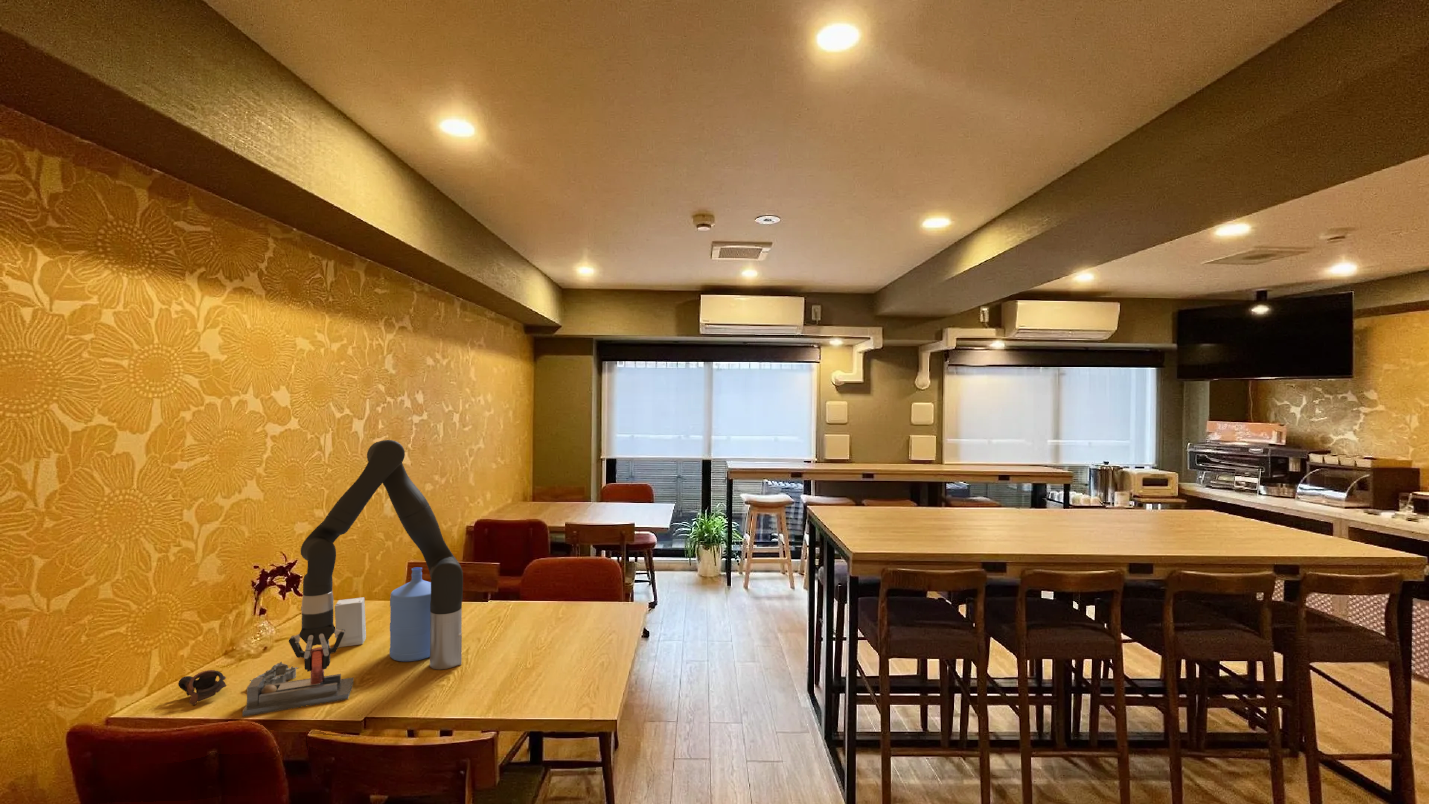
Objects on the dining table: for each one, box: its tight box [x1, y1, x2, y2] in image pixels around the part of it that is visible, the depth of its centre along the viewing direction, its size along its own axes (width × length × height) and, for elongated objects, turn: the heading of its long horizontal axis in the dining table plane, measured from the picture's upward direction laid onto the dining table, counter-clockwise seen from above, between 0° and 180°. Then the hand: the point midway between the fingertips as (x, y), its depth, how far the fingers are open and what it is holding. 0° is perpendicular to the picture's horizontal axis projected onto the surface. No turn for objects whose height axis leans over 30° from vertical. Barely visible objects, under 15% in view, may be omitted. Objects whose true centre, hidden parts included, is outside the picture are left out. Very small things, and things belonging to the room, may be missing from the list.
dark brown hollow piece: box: [177, 669, 227, 706], centre depth 169 cm, size 12×10×8 cm
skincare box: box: [334, 597, 367, 648], centre depth 208 cm, size 8×6×15 cm
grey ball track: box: [242, 673, 355, 717], centre depth 169 cm, size 24×11×6 cm, turn 114°
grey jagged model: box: [249, 661, 299, 687], centre depth 179 cm, size 11×8×4 cm
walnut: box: [261, 685, 277, 694], centre depth 166 cm, size 4×4×4 cm
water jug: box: [389, 566, 431, 663], centre depth 201 cm, size 16×16×28 cm
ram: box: [277, 646, 325, 692], centre depth 169 cm, size 11×4×11 cm, turn 114°
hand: (317, 668), depth 171 cm, fingers closed on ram, 3 cm apart
